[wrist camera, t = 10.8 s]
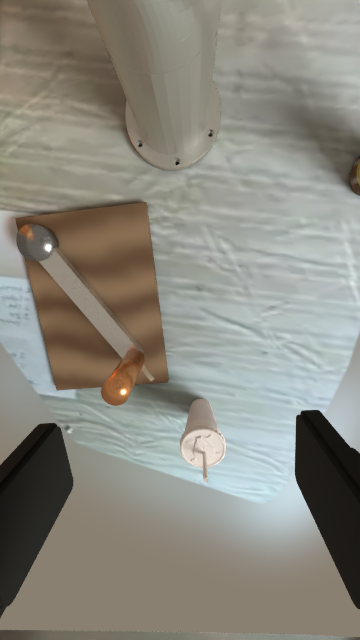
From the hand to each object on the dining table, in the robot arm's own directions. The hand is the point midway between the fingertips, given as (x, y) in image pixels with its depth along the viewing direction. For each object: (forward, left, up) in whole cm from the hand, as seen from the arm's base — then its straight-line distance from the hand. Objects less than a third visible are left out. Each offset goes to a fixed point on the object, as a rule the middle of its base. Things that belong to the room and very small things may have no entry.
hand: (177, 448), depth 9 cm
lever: (-3, -15, -28) cm, 32 cm away
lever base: (-2, -14, -30) cm, 33 cm away
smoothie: (+18, 0, -30) cm, 35 cm away
